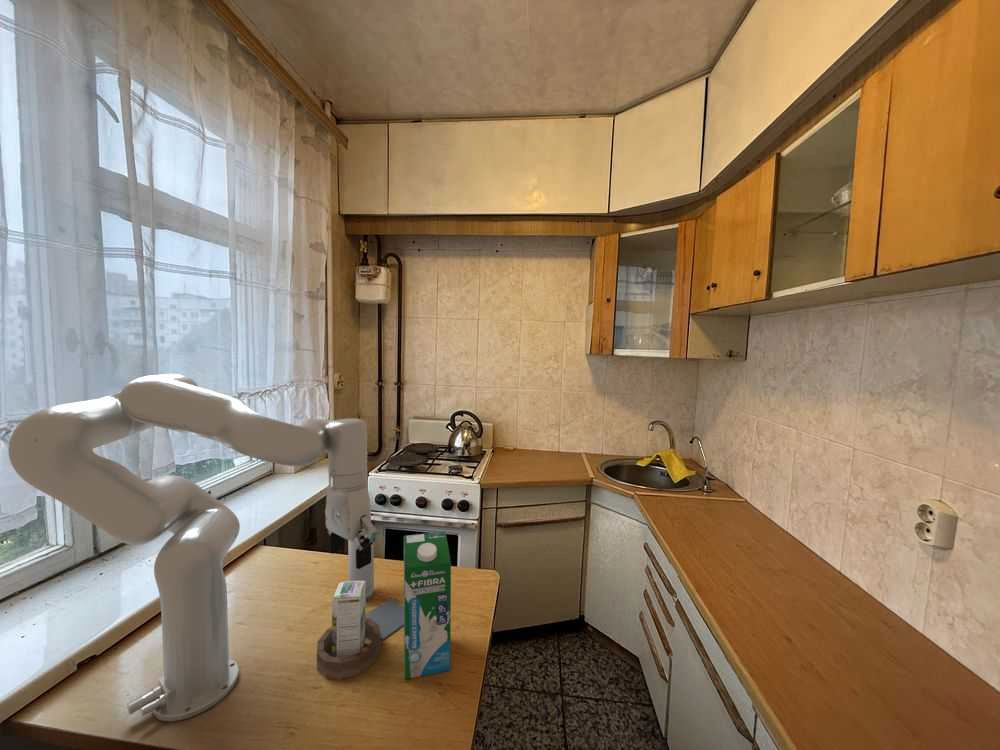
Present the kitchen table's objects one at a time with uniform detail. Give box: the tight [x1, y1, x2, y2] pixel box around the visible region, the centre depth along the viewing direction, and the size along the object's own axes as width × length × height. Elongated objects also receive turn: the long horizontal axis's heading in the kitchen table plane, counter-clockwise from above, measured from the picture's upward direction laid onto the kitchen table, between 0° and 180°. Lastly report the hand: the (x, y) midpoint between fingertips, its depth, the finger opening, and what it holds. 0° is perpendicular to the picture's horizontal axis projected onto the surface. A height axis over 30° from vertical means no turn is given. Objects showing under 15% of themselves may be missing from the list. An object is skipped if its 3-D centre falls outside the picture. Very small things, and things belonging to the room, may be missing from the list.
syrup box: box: [331, 580, 367, 658], centre depth 79 cm, size 6×6×14 cm
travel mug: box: [347, 519, 376, 602], centre depth 98 cm, size 6×7×20 cm
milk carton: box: [403, 530, 452, 680], centre depth 78 cm, size 9×9×25 cm
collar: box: [316, 618, 382, 681], centre depth 79 cm, size 12×12×4 cm
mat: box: [365, 598, 404, 642], centre depth 90 cm, size 10×10×1 cm
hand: (350, 558), depth 79 cm, fingers open, 9 cm apart
